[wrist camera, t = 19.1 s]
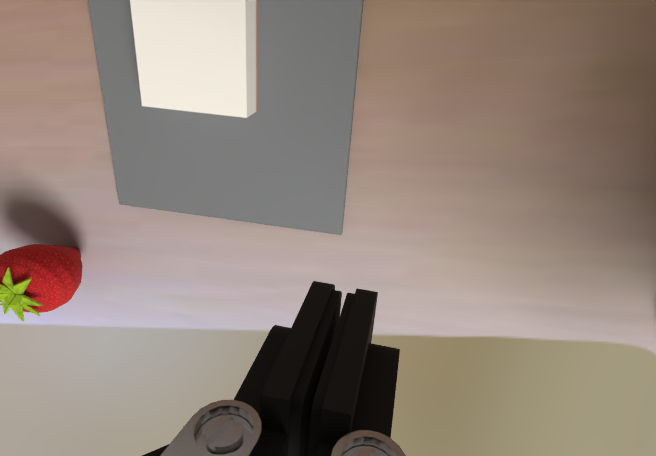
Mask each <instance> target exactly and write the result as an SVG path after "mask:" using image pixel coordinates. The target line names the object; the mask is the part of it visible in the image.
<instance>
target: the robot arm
mask: <svg viewBox="0 0 656 456" xmlns="http://www.w3.org/2000/svg"><path fill="white" fill-rule="evenodd" d="M377 294H378V292H374V291H368V290H362V289H356V292H355V294H352V293H347V296H346V299H345V302H344V305H343V308H342V311H341V315H340V307H341V296H342V292H341V291H335V285H333V284H328V283H322V282H316V281H314V282H313V283H312V285H311V287H310V289H309V291H308V294H307V296H306V298H305V300H304V302H303V304H302V306H301V309H300V311H299V313H298V315H297V317H296V319H295V322H294V324H293V326H292V328H287V327H282V326H277V325H275V326H273V327H272V329H271V330H270V332H269V334H268V336H267V338H266V340H265V342H264V344H263V345H262V347H261V350H260V351H259V353H258V355H257V357H256V359H255V361H254V362H253V365H252V366H251V368H250V370H249V372H248V374H247V376H246V378H245V380H244V381H243V383H242V385H241V387H240V389H239V391H238V393H237V395H236V397H235V398H234V400H221V401H217V402H213V403H210V404H209V405H207V406H205V407H203V408H201V409H200V410H199V411H198V412H197V413H196V414H194V415H193V416H192V418H191V419H190V420H189V421H188V422H187V424H186V425H185V426H184V427H183V429H182V430H181V431H180V432H179V434H178V435H177V436H176V437H175V438H174V440H173V441H172V442H171V443H170V444H169V445H166V446H164V447H162V448H159V449H157V450H155V451H152V452H150V453H148V454H145V455H143V456H406V455H405V454H404V452H403V451H402V449H401V448H400V446H399V445H397V443H395V442H394V441H393V440H392V439H391V438H390V436H391V428H392V418H393V408H394V399H395V390H396V381H397V371H398V362H399V351H400V350H399V349H396V348H391V347H386V346H381V345H375V344H371V339H372V332H373V325H374V317H375V310H376V302H377Z"/></svg>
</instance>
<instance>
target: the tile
mask: <svg viewBox="0 0 656 456" xmlns="http://www.w3.org/2000/svg"><path fill="white" fill-rule="evenodd" d="M130 6H131V14H132V23H133V32H134V41H135V49H136V58H137V67H138V75H139V84H140V93H141V102H142V106H145V107H154V108H163V109H172V110H181V111H190V112H199V113H208V114H216V115H225V116H234V117H243V118H247V117H249V116H250V115H252V114H254V113H255V112H257V0H130Z"/></svg>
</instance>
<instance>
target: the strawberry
mask: <svg viewBox="0 0 656 456" xmlns="http://www.w3.org/2000/svg"><path fill="white" fill-rule="evenodd" d="M81 277H82V262H81V254H80V252H79V251H78V250H77V249H75V248H71V247H62V246H57V245H40V244H33V245H27V246H23V247H20V248H16V249H12V250H9V251H6V252H4V253H3V254H1V255H0V302H2V304H0V305H3V309H4V314H6V313H7V312H8V310H9V308H10V307H11V308H12V310H13V311H14V312H15V313H16V314H17V315H18V317H19V318H20V319H21V320H22V321H24V315H23V311H25V312H32V313H34V314H36V315H38V316H39V315H40V314H39V313H38V312H48V311H51V310H54V309H56V308H58V307H59V306H61V305H63V304H65V303H67V302H68V301H69V300H70V299H71V298H72V296H73V295H74V293H75V291H76V290H77V288H78V287H79V285H80V283H81Z"/></svg>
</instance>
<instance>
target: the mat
mask: <svg viewBox="0 0 656 456" xmlns="http://www.w3.org/2000/svg"><path fill="white" fill-rule="evenodd" d="M88 4H89V11H90V17H91V24H92V30H93V37H94V43H95V50H96V56H97V63H98V69H99V76H100V82H101V89H102V95H103V101H104V108H105V114H106V121H107V127H108V134H109V140H110V147H111V153H112V160H113V166H114V173H115V179H116V186H117V192H118V199H119V204H121V205H129V206H136V207H143V208H150V209H157V210H164V211H172V212H179V213H186V214H193V215H200V216H208V217H215V218H222V219H229V220H236V221H244V222H251V223H258V224H265V225H272V226H279V227H287V228H294V229H301V230H308V231H315V232H323V233H330V234H337V235H341V234H342V229H343V218H344V207H345V196H346V186H347V175H348V164H349V153H350V142H351V131H352V120H353V109H354V98H355V87H356V76H357V65H358V54H359V43H360V32H361V21H362V10H363V0H257V112H255V113H254V114H252V115H250V116H249V117H247V118H243V117H234V116H225V115H216V114H208V113H199V112H190V111H181V110H172V109H163V108H154V107H145V106H142V102H141V93H140V84H139V75H138V67H137V58H136V49H135V41H134V32H133V23H132V14H131V6H130V0H88Z"/></svg>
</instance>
